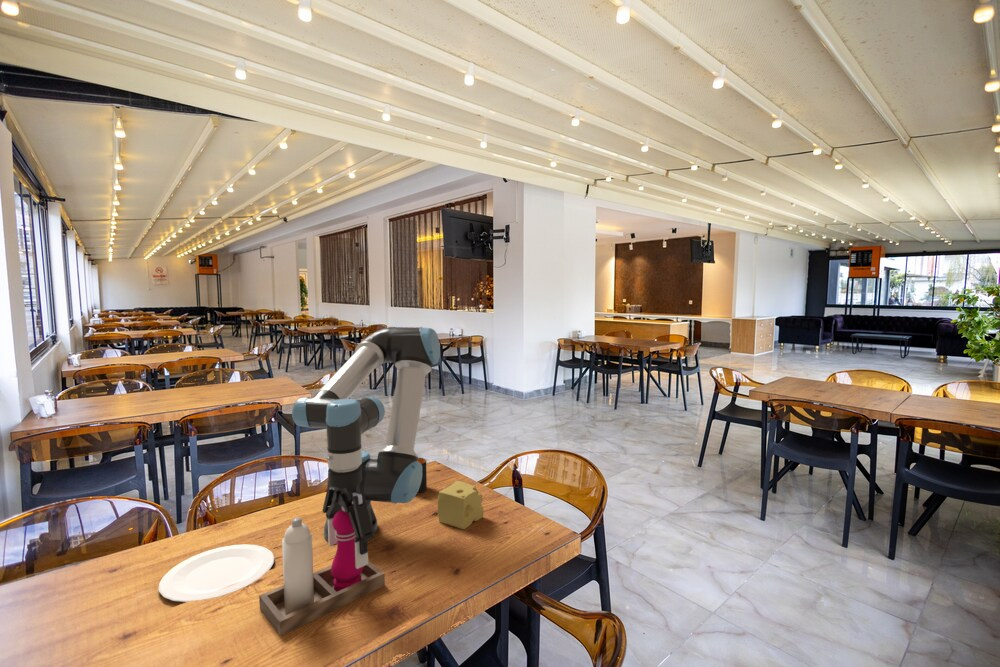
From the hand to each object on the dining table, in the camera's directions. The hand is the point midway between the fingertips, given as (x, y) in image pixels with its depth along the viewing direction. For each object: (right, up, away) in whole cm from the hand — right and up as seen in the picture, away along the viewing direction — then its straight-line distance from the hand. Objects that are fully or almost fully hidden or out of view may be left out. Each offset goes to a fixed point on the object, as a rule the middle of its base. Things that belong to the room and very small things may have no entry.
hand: (347, 554), depth 112 cm
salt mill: (-8, -8, -8) cm, 14 cm away
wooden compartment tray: (-4, -9, -3) cm, 11 cm away
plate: (-35, -9, +7) cm, 36 cm away
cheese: (+24, -6, +37) cm, 44 cm away
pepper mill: (0, -8, +1) cm, 8 cm away
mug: (+6, -5, +59) cm, 59 cm away
